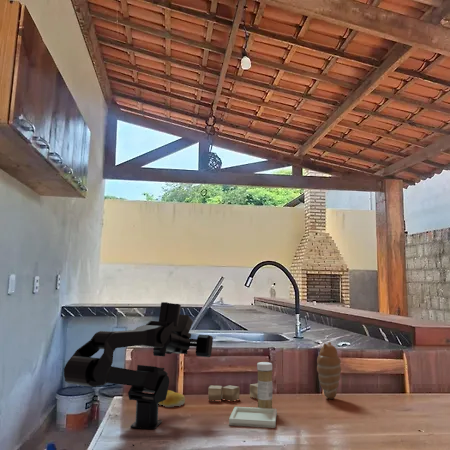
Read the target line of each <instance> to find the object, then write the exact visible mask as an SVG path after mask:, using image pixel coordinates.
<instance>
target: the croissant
mask: <svg viewBox="0 0 450 450" xmlns="http://www.w3.org/2000/svg"><path fill="white" fill-rule="evenodd" d="M318 353H319V355H317V359H316V362H317V366H316V372H317V374H318V381H319V386H320V387H321V389H322V390H323V396H325V398H327V399H329V400H332V399H334V398H335V397H336V396H337V394H338V393H337V392H338V388H339V386H340V379H341V373H342V367H341V358H340V357H339V356H338V350H337V348H336V347H335V346H334V345H332V343H331V341H329V342H328V343H327V344H326V343H325V342H324V343H323V345H322V346H321V348H320V349H319V351H318Z"/></svg>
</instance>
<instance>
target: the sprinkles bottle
mask: <svg viewBox="0 0 450 450" xmlns="http://www.w3.org/2000/svg"><path fill="white" fill-rule="evenodd" d="M256 369H257V383H258V399H257V408H272V409H274V408H273V363H272V362H268V361H261V362H260V361H259V362H257V364H256Z"/></svg>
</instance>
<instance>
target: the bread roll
mask: <svg viewBox="0 0 450 450" xmlns="http://www.w3.org/2000/svg"><path fill="white" fill-rule="evenodd" d="M185 403H186V398H185V395H184V394H182V393H180V392H175V391H174V390H169V389H168V391H167V396H166V400H164V401H161V402H159V403H158V404H159V405H158V406H161V405H163V407H164V406H165V408H175V407H174V406H179V407H182V406H183V405H185ZM181 405H182V406H181Z"/></svg>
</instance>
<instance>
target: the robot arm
mask: <svg viewBox="0 0 450 450" xmlns="http://www.w3.org/2000/svg"><path fill="white" fill-rule="evenodd" d="M181 306H182V305H181V304H179V303H171V302H167V301H166V302H164V301H161V303H160V311H159V316H158V320H150V321H148V322H147V323H146V324H143V325H141V326H140V325H139V326H137V327H136V328H135V329H132V330H131V329H130V330H129V329H128V330H114V331H113V330H112V331H111V330H110V331H107V330H100V331H97V332H96V333H94V334H93V336H92V337H91V339H90V340H89V341H87V342H86V343H84V344H83V345H82V346H80V347H79V348H78V349H76V351H74V353H73V355H72V356H70V358H69V360H67V362H66V364H65V365H64V368H63V377H64V381H65V383H67V384H70V385H77V386H84V387H93V388H95V387H101V386H105V385H106V384H113V385H114V384H115V385H125V386H131V387H130V388H129V390H128V392H127V395H128V400H129V401H136V404H135V421H134V422H133V423H132V424H130V429H131V428H132V429H142V430H143V429H144V430H145V429H146V430H156V429H157V428H158V426H159V425H161V423H163V420H162V419H159V405H158V403H159V402H161V401H164V400H166V396H167V391H168V390H169V385H170V377H169V376H168V372H167V371H166V370H165V367H158V366H154V365H144V364H142V365H141V364H137V365H136V366H137V367H136V370H133V369H130V368H129V369H128V368H122V367H117V366H112V365H113V361H114V352H115V350H116V349H118V348H121V349H122V348H128V347H136V346H137V347H142V348H144V347H145V348H153V351H152V354H153V356H155V357H162V358H163V357H164V358H165V357H166V355H172V354H178V355H179V354H181V355H188V351H189V350H190V348H191V347H192V348H195V355H196V357H201V358H210V357H212V351H213V342H214V337H213V336H212V335H210V334H198V336H197V337H196V338H192V333H191V332H190V331H191V328H192V325H193V322H194V321H193V320H192V318H191V317H190V316H189V315H188V314H180V313H181ZM100 350H103V353H102V355H101V356H100V357H93V356H94V355H95V354H97V353H98V352H99V351H100Z"/></svg>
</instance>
